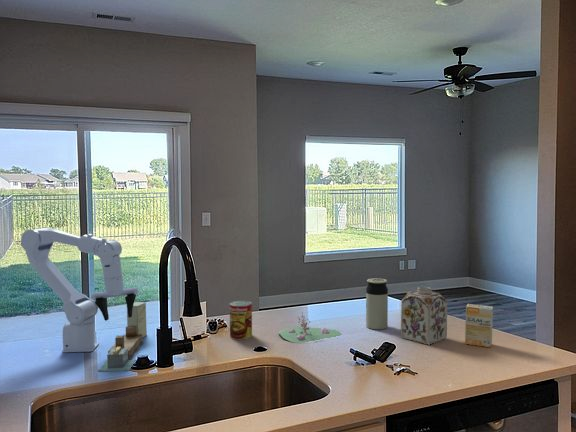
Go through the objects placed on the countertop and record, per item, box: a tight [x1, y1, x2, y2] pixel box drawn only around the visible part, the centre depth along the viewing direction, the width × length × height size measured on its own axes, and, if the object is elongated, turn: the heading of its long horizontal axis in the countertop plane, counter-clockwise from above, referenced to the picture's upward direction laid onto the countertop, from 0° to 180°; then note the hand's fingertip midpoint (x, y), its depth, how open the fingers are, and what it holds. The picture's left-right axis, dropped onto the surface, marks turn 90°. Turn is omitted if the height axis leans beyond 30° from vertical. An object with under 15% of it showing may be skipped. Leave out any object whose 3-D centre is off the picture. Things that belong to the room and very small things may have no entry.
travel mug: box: [365, 277, 389, 331], centre depth 186 cm, size 8×8×18 cm
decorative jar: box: [400, 286, 448, 346], centre depth 172 cm, size 12×12×18 cm
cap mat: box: [97, 359, 137, 373], centre depth 148 cm, size 9×8×1 cm
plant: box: [277, 312, 342, 344], centre depth 178 cm, size 25×21×9 cm
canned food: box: [229, 300, 253, 340], centre depth 176 cm, size 8×8×12 cm
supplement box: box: [464, 303, 494, 348], centre depth 165 cm, size 8×5×13 cm, turn 62°
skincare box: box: [126, 301, 148, 339], centre depth 176 cm, size 6×4×12 cm
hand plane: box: [107, 326, 144, 360], centre depth 161 cm, size 17×7×7 cm, turn 4°
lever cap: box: [106, 347, 128, 368], centre depth 148 cm, size 4×6×5 cm
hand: (118, 318), depth 162 cm, fingers open, 7 cm apart
